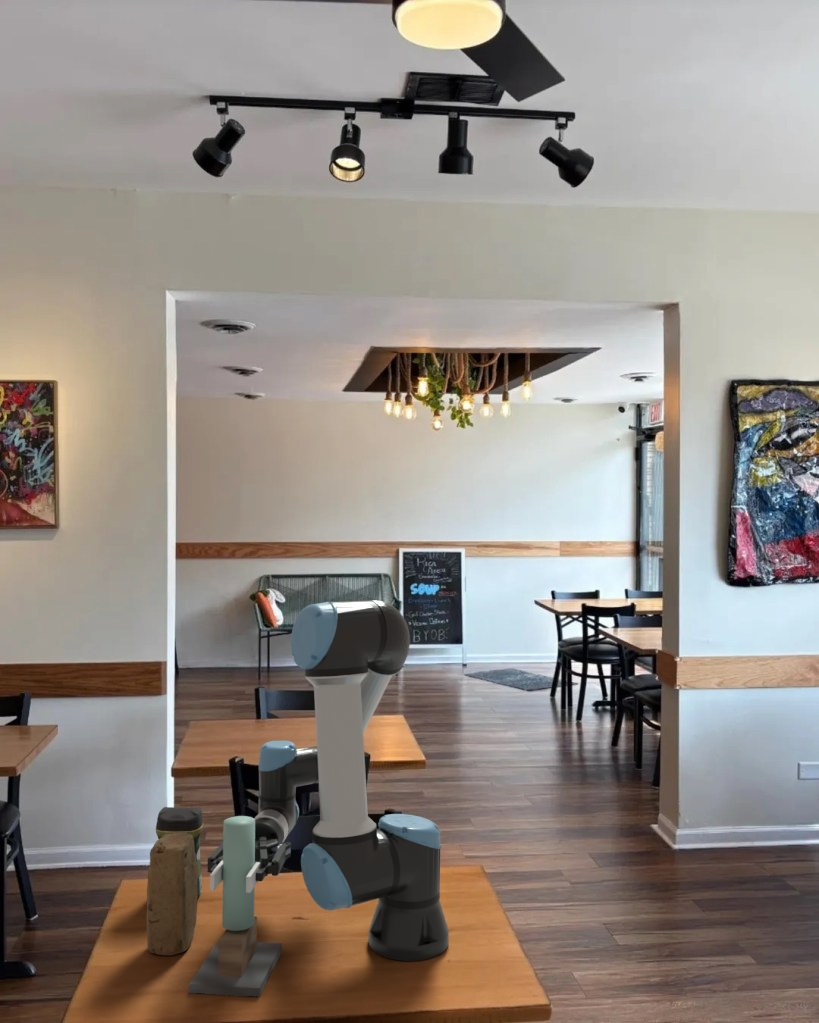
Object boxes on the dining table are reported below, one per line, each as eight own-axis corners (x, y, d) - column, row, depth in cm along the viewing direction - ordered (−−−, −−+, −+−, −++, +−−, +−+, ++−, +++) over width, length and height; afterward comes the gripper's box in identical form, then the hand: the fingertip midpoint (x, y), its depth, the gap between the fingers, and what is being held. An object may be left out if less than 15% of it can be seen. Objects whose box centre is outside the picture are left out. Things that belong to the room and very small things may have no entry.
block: (182, 959, 162) (183, 848, 162) (142, 957, 163) (143, 847, 163) (201, 932, 173) (202, 828, 173) (163, 930, 174) (164, 826, 174)
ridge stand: (218, 947, 167) (218, 907, 167) (281, 951, 166) (282, 910, 166) (189, 993, 151) (189, 948, 151) (259, 997, 150) (259, 952, 150)
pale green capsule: (259, 918, 160) (260, 817, 160) (245, 932, 155) (246, 828, 155) (231, 914, 162) (232, 814, 162) (216, 928, 156) (217, 824, 157)
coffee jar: (150, 904, 185) (151, 814, 185) (160, 888, 193) (160, 802, 193) (198, 904, 185) (199, 814, 186) (205, 888, 193) (206, 802, 194)
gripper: (311, 857, 175) (283, 908, 152) (218, 852, 177) (176, 903, 154) (311, 818, 175) (283, 864, 152) (218, 814, 177) (177, 859, 154)
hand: (230, 883), depth 153 cm, fingers open, 6 cm apart
